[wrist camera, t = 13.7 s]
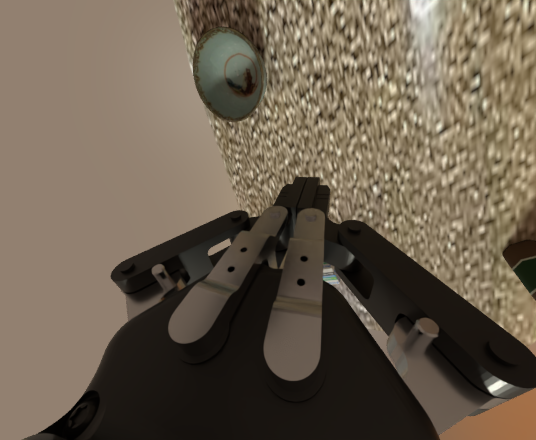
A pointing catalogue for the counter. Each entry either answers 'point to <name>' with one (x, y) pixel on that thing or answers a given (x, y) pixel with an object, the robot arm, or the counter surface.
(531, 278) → the beer bottle
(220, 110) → the bowl
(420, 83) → the counter surface
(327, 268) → the light bulb box
